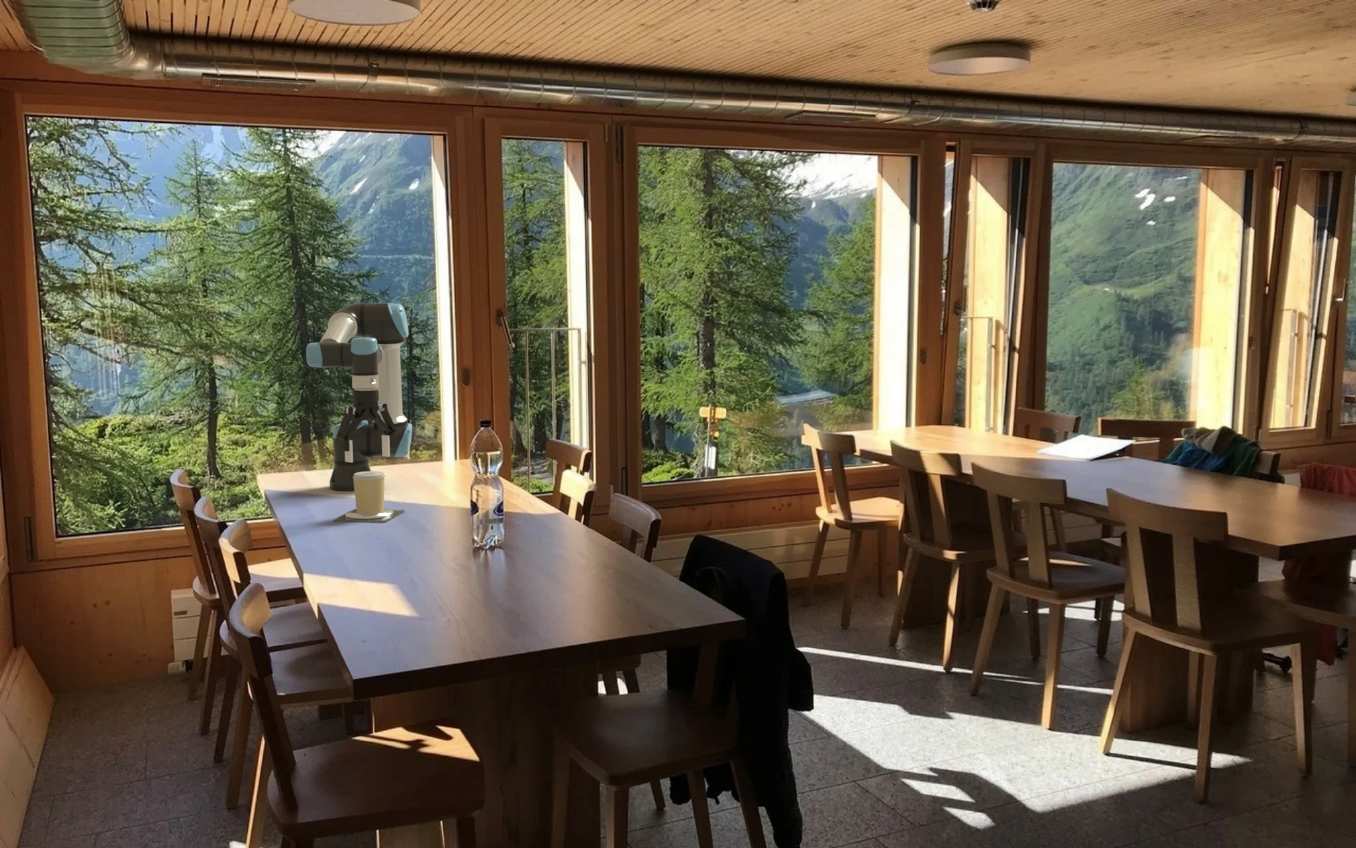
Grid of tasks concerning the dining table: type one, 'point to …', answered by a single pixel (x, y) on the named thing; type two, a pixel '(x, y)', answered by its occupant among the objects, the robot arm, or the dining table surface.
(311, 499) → the dining table surface
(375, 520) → the flange plate
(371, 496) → the coffee cup
